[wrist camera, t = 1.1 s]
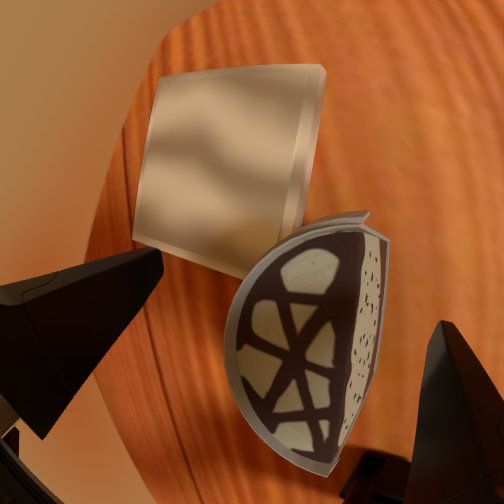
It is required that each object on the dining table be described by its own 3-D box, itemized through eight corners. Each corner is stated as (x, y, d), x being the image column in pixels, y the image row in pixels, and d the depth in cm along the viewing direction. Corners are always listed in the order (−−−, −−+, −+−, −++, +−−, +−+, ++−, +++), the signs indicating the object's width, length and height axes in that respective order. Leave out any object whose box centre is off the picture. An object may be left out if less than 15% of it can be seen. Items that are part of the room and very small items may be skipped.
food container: (302, 212, 22) (211, 207, 13) (390, 215, 19) (359, 208, 10) (294, 375, 23) (216, 446, 15) (371, 391, 20) (325, 484, 12)
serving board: (291, 287, 23) (278, 293, 21) (147, 238, 31) (130, 239, 29) (329, 75, 20) (319, 62, 18) (174, 83, 28) (158, 76, 26)
